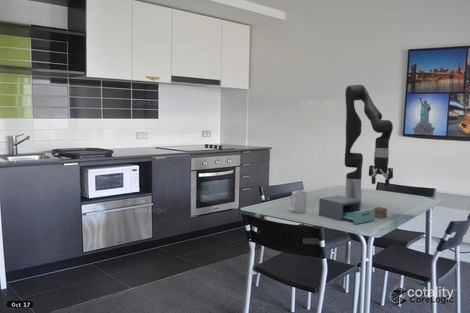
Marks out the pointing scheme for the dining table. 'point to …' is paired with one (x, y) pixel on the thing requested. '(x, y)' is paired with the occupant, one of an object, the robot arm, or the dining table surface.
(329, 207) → the grey drawer box
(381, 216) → the walnut block
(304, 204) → the mug
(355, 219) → the teal drawer
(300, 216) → the dining table surface
